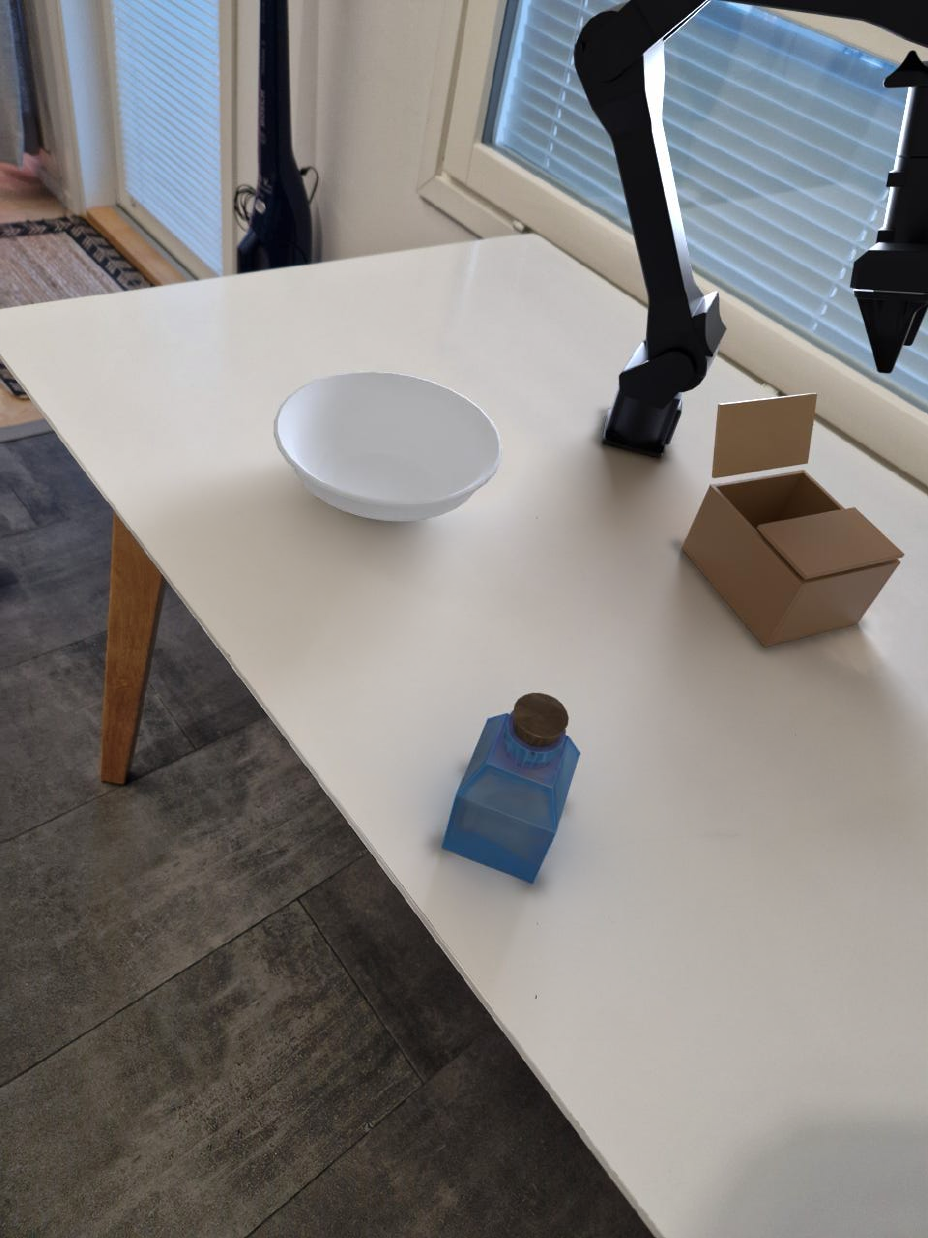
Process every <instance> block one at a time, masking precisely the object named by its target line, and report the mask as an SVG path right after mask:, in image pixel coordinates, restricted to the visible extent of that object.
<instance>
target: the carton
mask: <svg viewBox="0 0 928 1238" xmlns="http://www.w3.org/2000/svg"><path fill="white" fill-rule="evenodd" d="M681 550H682V551H683V552H684V553H685V554H686V555H687V556H688V558H689V559H690V560H691V561H692V562H693V563H694V565H695V566H696V567H697V569H698V570H699V571H700V572H701V573H702V575H703V576H704V577H705V578H706V579H707V580H708V581H709V583H710V584H711V585H712V586H713V588H714V589H715V590H716V591H717V592H718V594H720V596H721V598H723V600H724V601H725V602H726V603H727V604H728V606H729V607H730V608H731V609H732V611H734V613H735V614H736V615H737V616H738V618H739V619H740V620H741V621H742V622H743V624H744V625H745V626H746V627H747V628H748V630H749V631H750V632H751V633H752V634H753V635H754V637H755V638H756V639H757V640H758V642H759V643H760V644H761V645H762V646H763V647H764V648H767V647H770V646H771V647H772V646H774V645H775V646H776V645H778V644H783V643H787V642H790V641H794V640H797V639H801V638H805V637H809V636H813V635H817V634H821V633H825V632H829V631H832V630H837V629H841V628H844V627H849V626H852V625H856V624H859V623H860V621H861V620H862V618H863V617H864V616H865V614H866V613H867V611H868V610H869V609H870V607H871V606H872V604H873V603H874V601H875V600H876V598H877V597H878V595H879V594H880V593H881V591H882V590H883V588H884V587H885V586H886V584H887V583H888V581H889V580H890V578H891V577H892V576H893V574H894V572H895V571H896V570H897V568H898V567H899V565H900V564H901V560H900V559H903V557H905V553H904V552H903V551H902V550H901V549H900V547H898V546H896V544H895V543H893V542H892V540H891V539H889V538H888V537H887V536H886V535H885V534H884V533H883V532H882V531H881V530H879V528H878V527H877V526H875V524H873V523H872V522H871V521H870V520H869V519H868V518H867V517H866V516H865V515H864V514H863V513H862V512H861V511H859V510H858V509H857V508H856V507H855V506H853V507H847V508H845V506H843V505H842V504H841V503H840V502H839V501H838V500H836V499H835V498H834V497H833V496H832V495H831V494H830V492H828V491H827V490H826V489H825V488H824V487H823V486H822V485H821V484H820V483H819V482H818V481H817V480H815V478H813V476H811V475H810V474H809V473H808V472H807V471H806V470H805V469H799V470H793V471H787V472H780V473H774V474H768V475H761V476H756V477H750V478H743V479H736V480H730V481H724V482H719V483H712V484H711V483H710V484H709V486H708V488H707V491H706V493H705V495H704V497H703V499H702V501H701V504H700V506H699V509H698V511H697V513H696V515H695V517H694V519H693V522H692V524H691V526H690V528H689V531H688V533H687V535H686V537H685V539H684V542H683V544H682V546H681Z"/></svg>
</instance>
